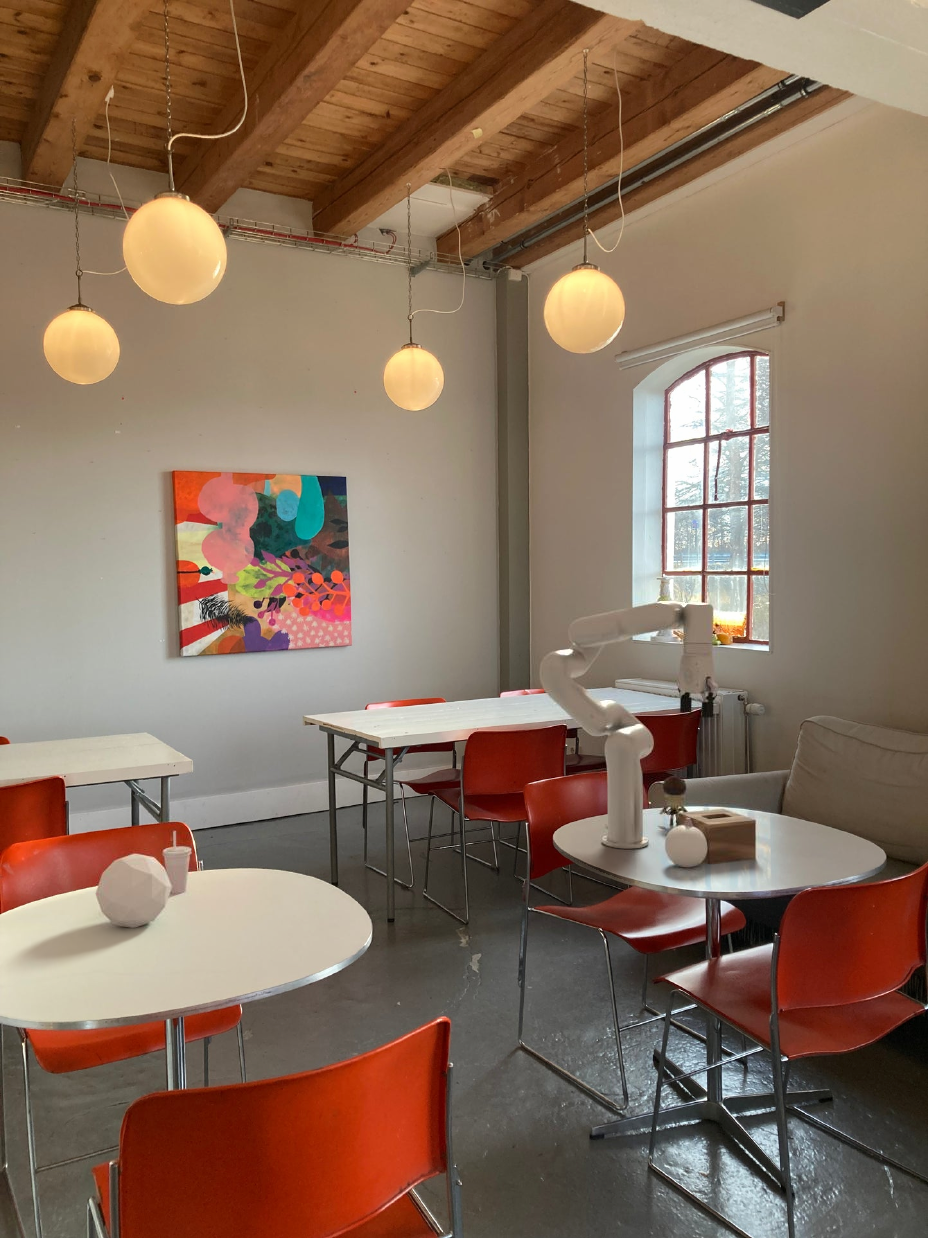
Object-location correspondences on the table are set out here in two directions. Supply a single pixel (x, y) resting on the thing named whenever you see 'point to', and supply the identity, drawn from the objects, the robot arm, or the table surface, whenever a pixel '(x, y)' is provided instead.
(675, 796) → the toy
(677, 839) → the ornament
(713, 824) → the box
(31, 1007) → the table surface
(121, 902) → the geometric shape
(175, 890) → the smoothie
